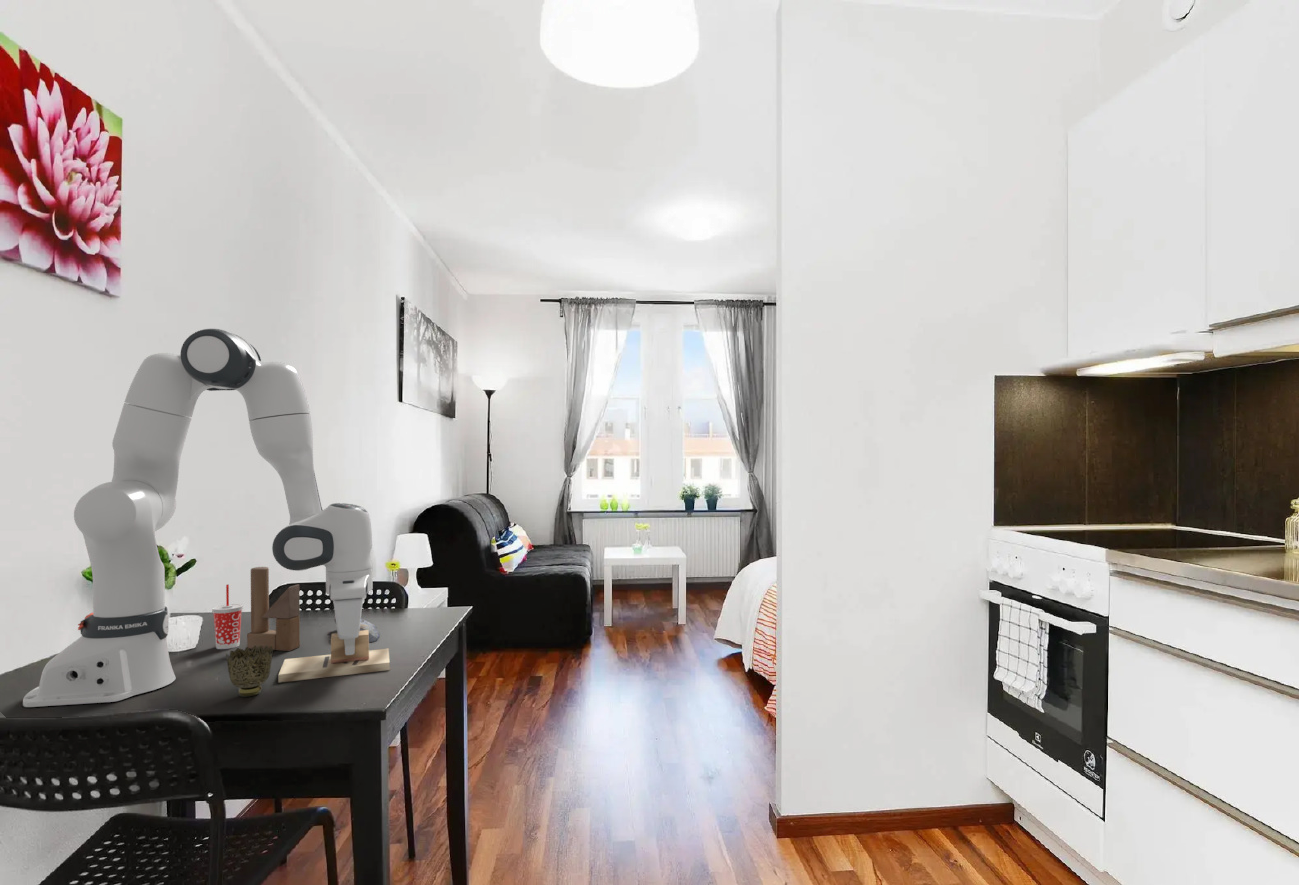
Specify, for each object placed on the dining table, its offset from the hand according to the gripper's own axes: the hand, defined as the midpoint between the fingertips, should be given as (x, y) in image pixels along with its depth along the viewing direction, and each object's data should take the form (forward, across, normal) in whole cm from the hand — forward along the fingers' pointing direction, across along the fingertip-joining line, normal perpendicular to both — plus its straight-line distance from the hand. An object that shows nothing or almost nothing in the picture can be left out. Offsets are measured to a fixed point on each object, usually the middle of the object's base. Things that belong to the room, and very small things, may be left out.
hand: (350, 650), depth 148 cm
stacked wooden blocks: (+3, -22, -17) cm, 28 cm away
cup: (+3, +11, -17) cm, 20 cm away
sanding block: (+2, 0, 0) cm, 2 cm away
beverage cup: (+3, -28, -27) cm, 39 cm away
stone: (+4, -27, +1) cm, 27 cm away
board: (+3, 0, -3) cm, 4 cm away
